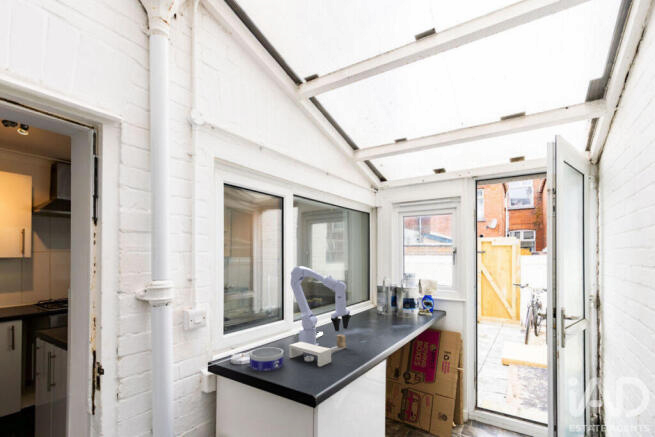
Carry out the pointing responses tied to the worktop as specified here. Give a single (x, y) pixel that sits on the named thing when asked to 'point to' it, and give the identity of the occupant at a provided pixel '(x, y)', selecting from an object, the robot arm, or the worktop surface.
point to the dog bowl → (266, 359)
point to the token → (309, 358)
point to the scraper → (338, 344)
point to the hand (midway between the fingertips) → (341, 329)
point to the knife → (319, 334)
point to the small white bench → (311, 352)
